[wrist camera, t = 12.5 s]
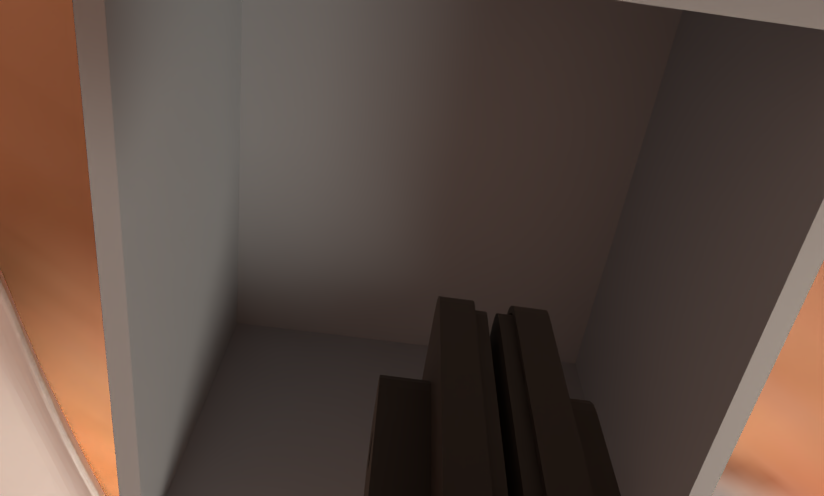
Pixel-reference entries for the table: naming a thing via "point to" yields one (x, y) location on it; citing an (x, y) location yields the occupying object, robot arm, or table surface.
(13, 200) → the table surface
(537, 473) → the robot arm
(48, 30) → the table surface
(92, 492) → the salad plate
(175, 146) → the carton
